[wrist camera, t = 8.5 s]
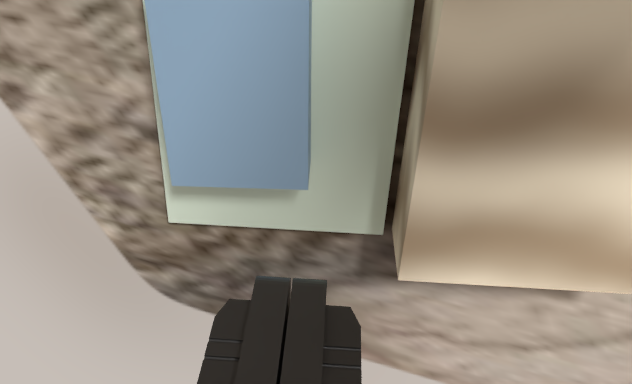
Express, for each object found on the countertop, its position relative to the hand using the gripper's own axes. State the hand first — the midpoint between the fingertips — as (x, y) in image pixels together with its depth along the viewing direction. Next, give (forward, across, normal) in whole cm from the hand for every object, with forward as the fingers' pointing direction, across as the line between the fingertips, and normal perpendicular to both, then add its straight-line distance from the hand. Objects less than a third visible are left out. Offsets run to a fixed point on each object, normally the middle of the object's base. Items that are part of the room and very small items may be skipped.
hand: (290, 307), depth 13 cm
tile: (+13, +3, +1) cm, 14 cm away
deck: (+16, -10, 0) cm, 19 cm away
